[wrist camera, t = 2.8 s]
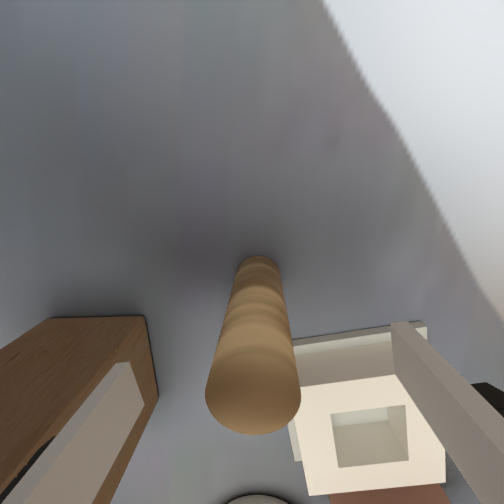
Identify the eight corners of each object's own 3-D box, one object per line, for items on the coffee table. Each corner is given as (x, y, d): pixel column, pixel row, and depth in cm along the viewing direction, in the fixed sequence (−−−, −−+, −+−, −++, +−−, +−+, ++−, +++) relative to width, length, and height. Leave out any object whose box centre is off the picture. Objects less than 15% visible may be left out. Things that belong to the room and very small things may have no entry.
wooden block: (46, 316, 27) (-504, 674, 8) (146, 313, 26) (-171, 689, 7) (69, 399, 30) (-293, 821, 10) (160, 398, 29) (-42, 839, 10)
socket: (271, 343, 27) (273, 380, 22) (420, 320, 25) (457, 354, 21) (294, 452, 30) (299, 504, 25) (425, 437, 29) (457, 489, 24)
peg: (232, 260, 24) (194, 363, 11) (276, 252, 24) (292, 348, 11) (241, 300, 26) (217, 439, 12) (283, 293, 25) (307, 429, 12)
